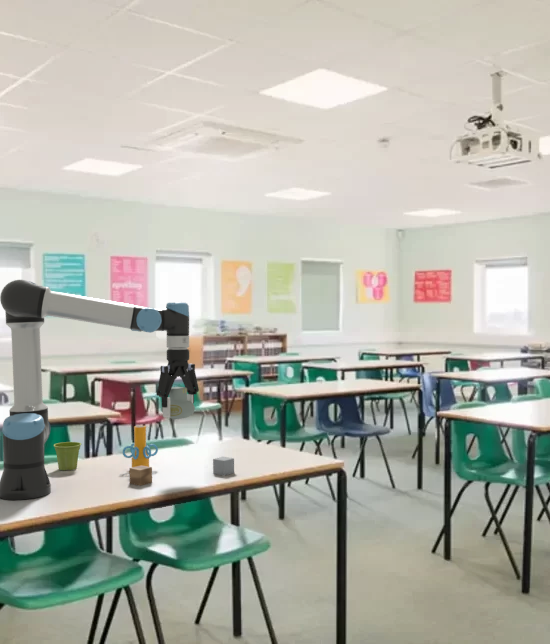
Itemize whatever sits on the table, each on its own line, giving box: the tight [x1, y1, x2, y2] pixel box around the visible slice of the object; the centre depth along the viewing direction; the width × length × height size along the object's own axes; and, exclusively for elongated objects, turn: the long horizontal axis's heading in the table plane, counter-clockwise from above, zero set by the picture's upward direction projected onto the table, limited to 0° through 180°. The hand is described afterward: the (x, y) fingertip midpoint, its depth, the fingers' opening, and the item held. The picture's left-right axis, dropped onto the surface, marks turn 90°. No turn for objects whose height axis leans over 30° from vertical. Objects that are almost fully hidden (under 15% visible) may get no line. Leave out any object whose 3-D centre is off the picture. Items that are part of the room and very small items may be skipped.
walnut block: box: [128, 465, 153, 487], centre depth 224 cm, size 5×5×5 cm
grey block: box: [212, 456, 235, 476], centre depth 237 cm, size 5×5×5 cm
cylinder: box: [122, 425, 159, 468], centre depth 244 cm, size 12×10×15 cm
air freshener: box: [161, 386, 196, 420], centre depth 235 cm, size 11×8×10 cm
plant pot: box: [53, 441, 82, 471], centre depth 246 cm, size 9×9×9 cm
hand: (178, 415), depth 235 cm, fingers closed on air freshener, 10 cm apart
